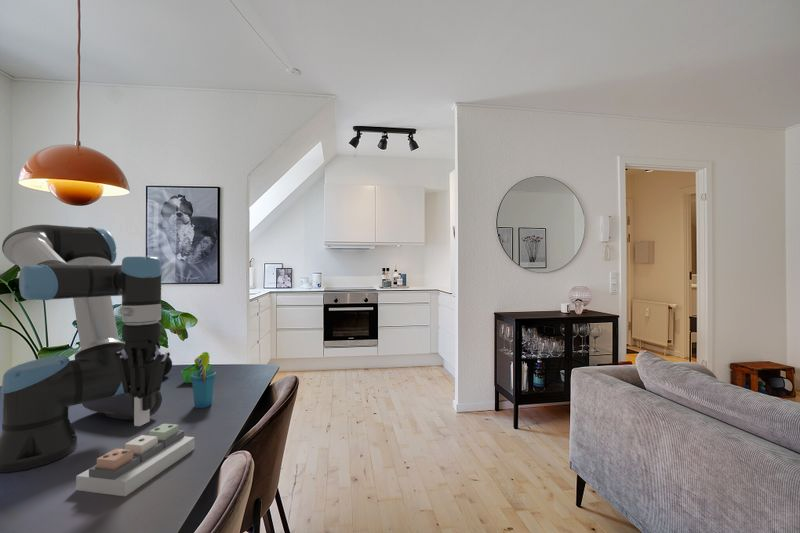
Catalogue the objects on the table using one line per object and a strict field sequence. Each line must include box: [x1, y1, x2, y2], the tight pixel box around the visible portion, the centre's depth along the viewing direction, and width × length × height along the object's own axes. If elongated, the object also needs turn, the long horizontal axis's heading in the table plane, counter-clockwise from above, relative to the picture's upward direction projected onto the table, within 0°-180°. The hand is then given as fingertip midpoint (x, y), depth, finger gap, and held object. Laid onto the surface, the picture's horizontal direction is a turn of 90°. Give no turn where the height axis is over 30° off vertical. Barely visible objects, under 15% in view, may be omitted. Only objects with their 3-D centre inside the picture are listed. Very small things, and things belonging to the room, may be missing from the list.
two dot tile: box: [148, 423, 179, 441], centre depth 91 cm, size 4×4×2 cm
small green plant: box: [180, 351, 212, 384], centre depth 151 cm, size 11×9×11 cm
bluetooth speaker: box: [81, 391, 163, 421], centre depth 114 cm, size 23×9×10 cm, turn 74°
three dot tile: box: [96, 447, 133, 470], centre depth 78 cm, size 4×4×2 cm
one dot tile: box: [124, 434, 158, 454], centre depth 85 cm, size 4×4×2 cm
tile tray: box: [75, 429, 196, 497], centre depth 85 cm, size 12×20×5 cm, turn 170°
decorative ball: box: [163, 356, 173, 377], centre depth 153 cm, size 10×10×10 cm
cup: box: [191, 357, 217, 409], centre depth 124 cm, size 14×8×15 cm, turn 42°
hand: (142, 423), depth 85 cm, fingers closed
